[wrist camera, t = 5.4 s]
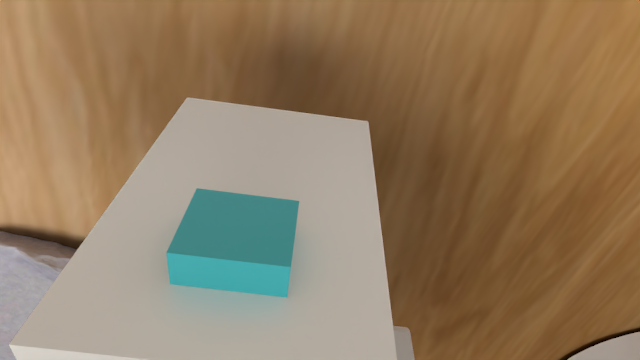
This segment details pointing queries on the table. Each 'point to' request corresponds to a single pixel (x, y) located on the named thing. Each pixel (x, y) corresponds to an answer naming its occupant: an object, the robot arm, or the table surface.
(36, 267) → the stone block
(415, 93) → the table surface
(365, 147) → the block
